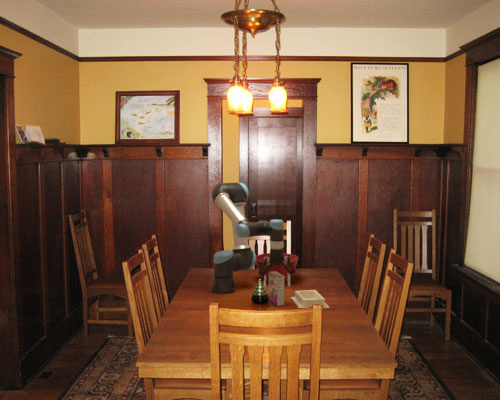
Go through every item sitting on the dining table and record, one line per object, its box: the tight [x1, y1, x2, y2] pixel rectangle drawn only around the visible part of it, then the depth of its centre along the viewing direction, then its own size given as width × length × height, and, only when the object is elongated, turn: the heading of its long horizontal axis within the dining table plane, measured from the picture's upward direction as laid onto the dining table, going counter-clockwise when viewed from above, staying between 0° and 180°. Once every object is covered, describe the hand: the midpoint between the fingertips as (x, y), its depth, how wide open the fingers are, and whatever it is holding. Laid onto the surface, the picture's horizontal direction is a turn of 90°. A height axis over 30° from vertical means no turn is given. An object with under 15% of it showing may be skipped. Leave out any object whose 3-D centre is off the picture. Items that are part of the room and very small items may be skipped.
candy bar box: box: [268, 271, 286, 307], centre depth 256 cm, size 11×5×16 cm, turn 22°
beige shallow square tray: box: [290, 289, 330, 310], centre depth 257 cm, size 16×20×4 cm
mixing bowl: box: [255, 252, 299, 283], centre depth 300 cm, size 28×28×15 cm
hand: (276, 286), depth 256 cm, fingers open, 13 cm apart
